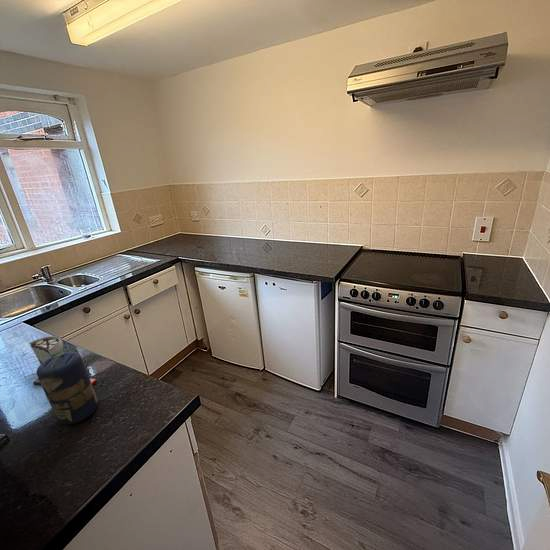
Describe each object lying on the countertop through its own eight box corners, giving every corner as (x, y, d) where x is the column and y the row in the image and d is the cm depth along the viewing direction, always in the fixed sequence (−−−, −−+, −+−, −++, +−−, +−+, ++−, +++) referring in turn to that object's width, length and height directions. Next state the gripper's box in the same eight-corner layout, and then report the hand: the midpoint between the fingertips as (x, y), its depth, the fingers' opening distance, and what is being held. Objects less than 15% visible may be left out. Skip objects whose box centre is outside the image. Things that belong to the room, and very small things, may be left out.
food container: (79, 364, 101) (69, 339, 98) (60, 376, 96) (48, 350, 93) (59, 356, 107) (48, 332, 103) (40, 367, 102) (28, 342, 98)
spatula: (29, 388, 92) (27, 385, 91) (43, 377, 96) (42, 374, 96) (84, 392, 88) (83, 389, 87) (96, 380, 92) (95, 377, 92)
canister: (50, 427, 76) (21, 371, 70) (76, 399, 85) (53, 347, 79) (84, 428, 75) (58, 370, 69) (107, 399, 84) (86, 346, 78)
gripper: (-121, 541, 49) (-11, 447, 65) (-61, 555, 47) (38, 453, 62) (-149, 512, 47) (-27, 421, 62) (-87, 525, 44) (24, 426, 60)
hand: (5, 437), depth 62 cm, fingers closed
